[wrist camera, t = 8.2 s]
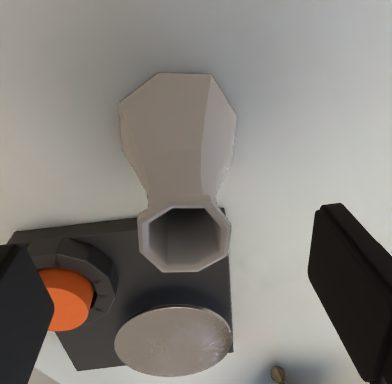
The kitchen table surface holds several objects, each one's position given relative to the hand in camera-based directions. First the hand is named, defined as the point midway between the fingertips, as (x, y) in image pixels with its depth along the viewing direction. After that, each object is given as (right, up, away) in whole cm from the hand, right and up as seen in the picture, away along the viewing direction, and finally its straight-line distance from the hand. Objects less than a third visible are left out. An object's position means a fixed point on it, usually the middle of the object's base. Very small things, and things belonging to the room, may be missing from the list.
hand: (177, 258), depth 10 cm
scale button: (-9, -5, +11) cm, 15 cm away
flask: (0, +6, +9) cm, 11 cm away
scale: (-4, -7, +16) cm, 18 cm away
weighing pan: (-1, -10, +15) cm, 18 cm away
